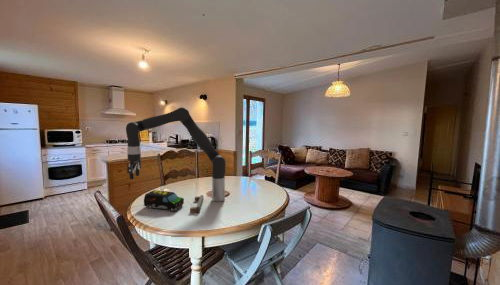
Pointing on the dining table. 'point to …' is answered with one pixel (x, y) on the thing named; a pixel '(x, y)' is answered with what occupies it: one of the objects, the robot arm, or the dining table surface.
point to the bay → (199, 205)
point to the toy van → (163, 200)
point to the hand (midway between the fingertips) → (134, 177)
